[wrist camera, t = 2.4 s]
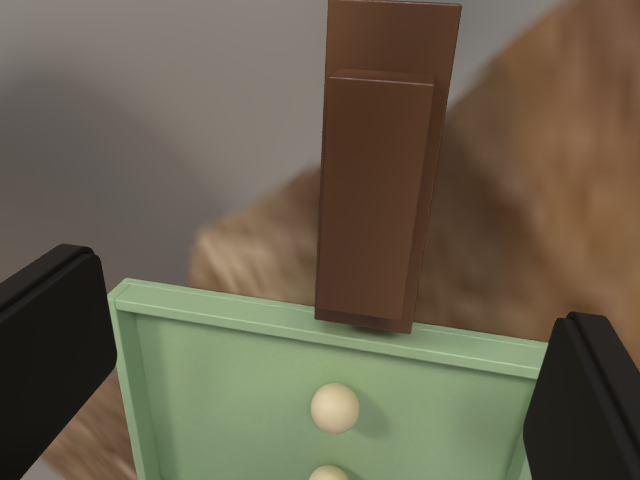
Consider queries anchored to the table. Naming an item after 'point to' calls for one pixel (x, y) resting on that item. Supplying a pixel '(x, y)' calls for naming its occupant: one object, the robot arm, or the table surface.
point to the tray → (312, 391)
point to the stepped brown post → (380, 155)
